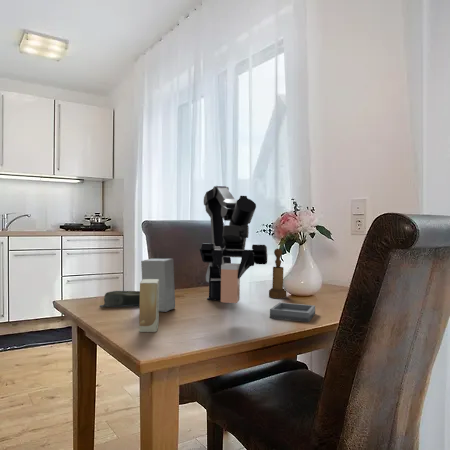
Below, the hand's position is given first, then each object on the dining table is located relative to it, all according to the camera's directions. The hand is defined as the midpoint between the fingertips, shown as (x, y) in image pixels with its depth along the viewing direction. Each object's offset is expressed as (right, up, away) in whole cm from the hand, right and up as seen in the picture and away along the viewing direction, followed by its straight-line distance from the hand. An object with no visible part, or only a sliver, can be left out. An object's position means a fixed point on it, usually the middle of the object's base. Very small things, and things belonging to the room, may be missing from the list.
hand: (229, 277), depth 103 cm
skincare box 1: (-22, -12, +16) cm, 30 cm away
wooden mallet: (+18, -13, +41) cm, 47 cm away
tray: (+19, -13, +10) cm, 25 cm away
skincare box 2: (-20, -12, -6) cm, 25 cm away
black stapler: (-34, -12, +21) cm, 42 cm away
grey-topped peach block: (0, -7, +1) cm, 7 cm away
